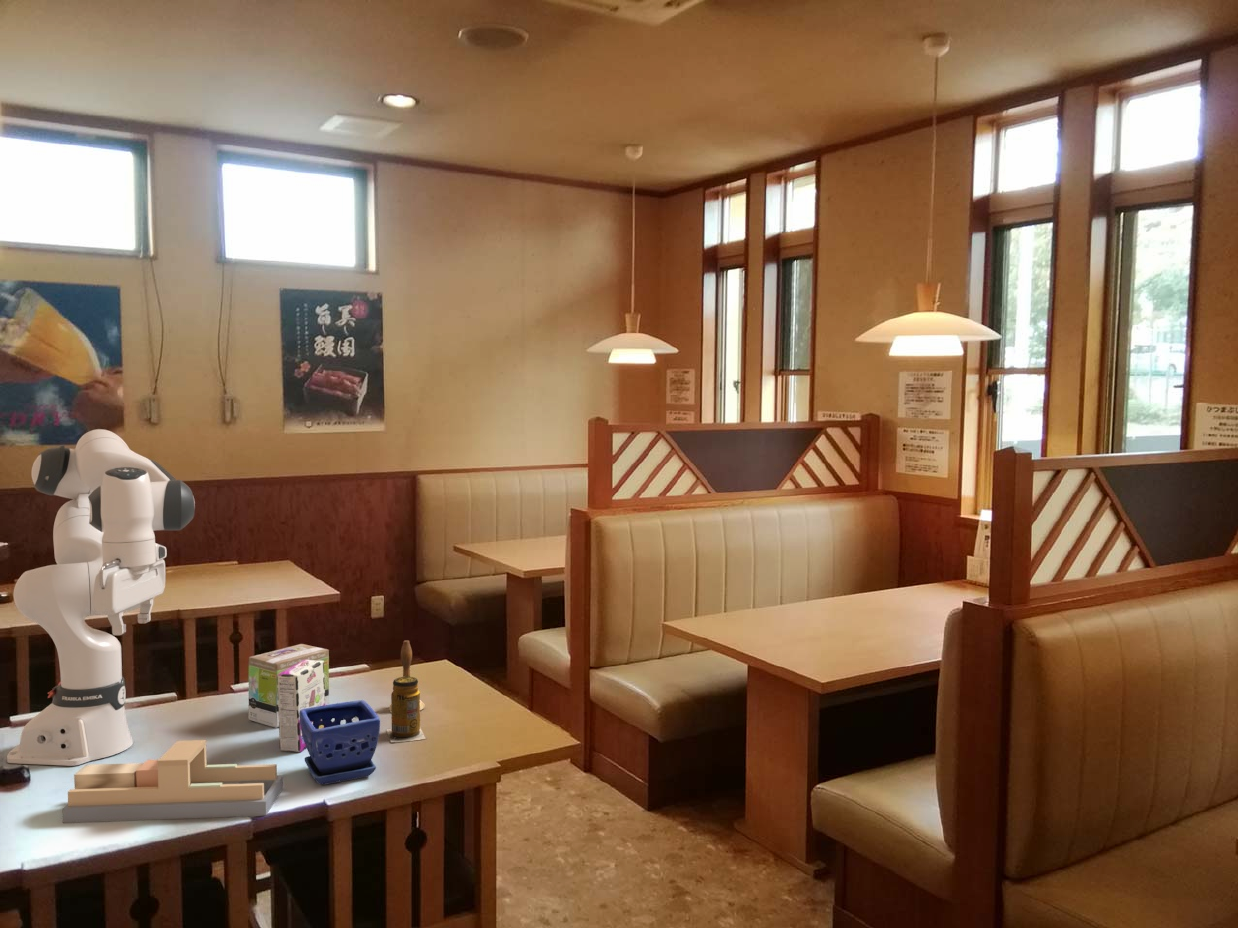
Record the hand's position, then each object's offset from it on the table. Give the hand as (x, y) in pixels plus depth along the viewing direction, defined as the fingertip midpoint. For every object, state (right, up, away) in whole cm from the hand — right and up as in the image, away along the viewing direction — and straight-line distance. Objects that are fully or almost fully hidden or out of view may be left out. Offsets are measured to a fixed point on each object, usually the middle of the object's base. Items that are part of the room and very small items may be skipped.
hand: (132, 628), depth 178 cm
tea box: (+16, -27, +40) cm, 51 cm away
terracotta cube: (+9, -28, -8) cm, 30 cm away
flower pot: (+37, -30, +7) cm, 48 cm away
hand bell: (+41, -27, +45) cm, 67 cm away
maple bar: (+1, -28, -9) cm, 29 cm away
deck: (+12, -30, -8) cm, 34 cm away
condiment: (+45, -28, +28) cm, 60 cm away
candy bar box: (+24, -28, +23) cm, 44 cm away
